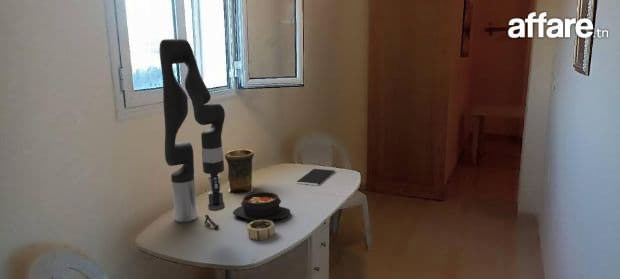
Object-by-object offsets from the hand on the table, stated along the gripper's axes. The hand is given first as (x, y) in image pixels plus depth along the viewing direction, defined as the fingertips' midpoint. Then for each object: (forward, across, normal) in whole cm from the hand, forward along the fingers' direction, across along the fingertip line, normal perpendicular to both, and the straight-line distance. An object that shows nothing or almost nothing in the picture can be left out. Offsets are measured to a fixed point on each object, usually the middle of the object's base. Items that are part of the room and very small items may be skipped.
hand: (216, 203), depth 162 cm
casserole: (+15, -18, +20) cm, 31 cm away
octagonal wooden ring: (+14, +1, +16) cm, 21 cm away
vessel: (+15, -56, +17) cm, 60 cm away
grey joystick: (+2, 0, 0) cm, 2 cm away
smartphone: (+16, -62, +59) cm, 87 cm away
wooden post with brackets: (+15, -14, -2) cm, 20 cm away
